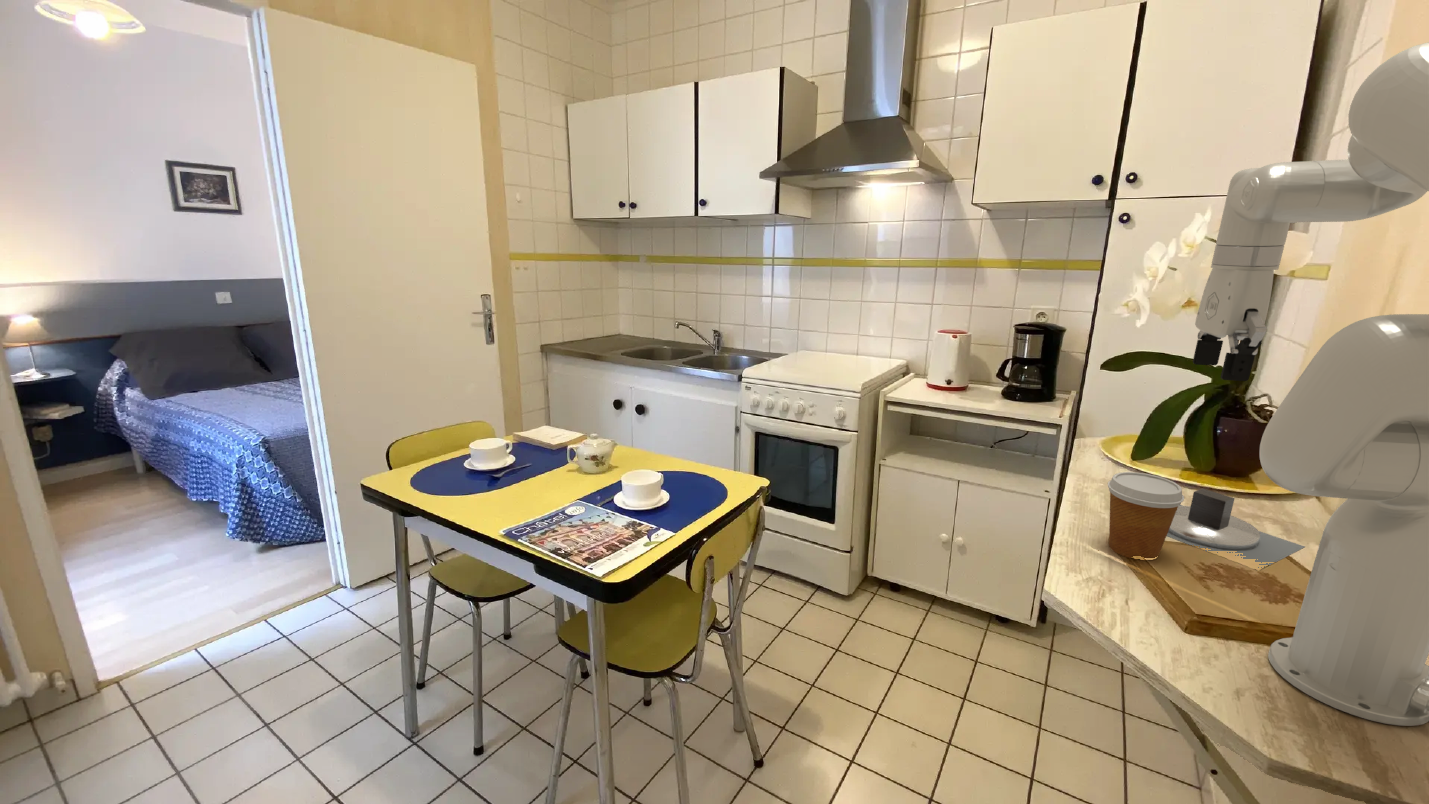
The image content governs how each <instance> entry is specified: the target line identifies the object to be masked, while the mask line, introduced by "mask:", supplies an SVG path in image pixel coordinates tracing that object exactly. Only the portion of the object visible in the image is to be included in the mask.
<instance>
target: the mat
mask: <svg viewBox="0 0 1429 804" xmlns="http://www.w3.org/2000/svg"><path fill="white" fill-rule="evenodd" d="M1179 506H1184V504H1183V505H1182V504H1180V505H1179ZM1258 531H1259V532H1260V538H1259V542H1258V545H1257V547H1255V548H1253V549H1250V550H1243V551H1237V552H1235V553H1243V555H1242V554H1240V556H1246V557H1243V559H1256V560H1255V562H1261V563H1262V562H1276V563H1277V562H1279V561H1282V560H1283V559H1285V558H1286V557H1289V556H1291V555H1293V554H1295V553H1297V552H1298V551H1300V550H1302V549H1304V548H1306V546H1305V545H1302V544H1300V543H1296V542H1293V541H1290V540H1287V539H1284V538H1282V537H1281V538H1280V537H1278V536H1275V535H1272V534H1269V533H1265V532H1263V531H1260V530H1258ZM1166 538H1170V539H1173V540H1176V541H1178V542H1180V543H1183V544H1185V545H1188V546H1191V545H1192V547H1194V546H1198V547H1199V546H1200V547H1199V548H1205V549H1206V548H1208V549H1211V550H1208V551H1234V550H1223V549H1216V548H1211V547H1207V546H1202V545H1199V544H1195V543H1192V542H1189V541H1186V540H1184V539H1181V538H1179V537H1176V536H1174V535H1172V534H1171V533H1169V532H1168V533H1167V536H1166ZM1193 545H1194V546H1193ZM1199 548H1198V549H1199ZM1204 552H1207V550H1205V551H1204ZM1217 553H1218V552H1217ZM1227 553H1228V552H1227ZM1229 553H1231V552H1229ZM1232 553H1233V552H1232ZM1235 556H1236V555H1235ZM1237 556H1239V554H1238V555H1237ZM1241 558H1242V557H1241ZM1257 559H1258V560H1257ZM1271 564H1272V565H1274V564H1273V563H1269V564H1268V563H1266V564H1259V565H1270V566H1272V565H1271ZM1264 567H1265V566H1264ZM1258 568H1259V567H1258ZM1261 568H1262V567H1261Z"/></svg>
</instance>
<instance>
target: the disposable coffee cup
mask: <svg viewBox="0 0 1429 804" xmlns="http://www.w3.org/2000/svg"><path fill="white" fill-rule="evenodd" d="M1107 487H1108V491H1109V531H1108V532H1109V533H1108V535H1109V536H1108V546H1109V549H1110V550H1112V551H1113V552H1114V553H1116V554H1118V555H1120V556H1123V557H1124V558H1129V559H1131V557H1133V556H1141V557H1144V558H1155V557H1157V556H1158V557H1159V556H1160V554H1161V551H1162V548H1163V545H1164V544H1165V541H1166V539H1167V533H1168V531H1169V528H1170V526H1171V523H1172V521H1173V518H1174V516H1175V513H1176V511H1177V508H1178V506H1179V505H1182V503H1183V502H1184V501H1185V495H1183V488H1182V486H1180V485H1179V484H1178V483H1176V482H1175V481H1173V480H1171V479H1170V480H1169V479H1167V478H1165V477H1162V476H1158V475H1154V474H1149V473H1144V472H1135V471H1134V472H1132V471H1124V472H1123V471H1122V472H1117V473H1114V475H1112V478H1111V479H1110V480H1109V481H1108V482H1107Z"/></svg>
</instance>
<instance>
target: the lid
mask: <svg viewBox="0 0 1429 804" xmlns="http://www.w3.org/2000/svg"><path fill="white" fill-rule="evenodd" d="M1191 499H1192V500H1191V504H1190V505H1183V506H1178V508H1177V511H1176V513H1175V516H1174V518H1173V521H1172V523H1171V526H1170V528H1169V531H1168V532H1169V533H1171V534H1172V535H1174V536H1176V537H1179V538H1181V539H1184V540H1186V541H1189V542H1192V543H1195V544H1199V545H1202V546H1207V547H1211V548H1216V549H1223V550H1234V551H1243V550H1250V549H1253V548H1255V547H1257V545H1258V542H1259V538H1260V532H1261V531H1260V530H1259V529H1258V528H1256V527H1255V526H1254V525H1253V524H1251V523H1249V522H1247V521H1246V520H1244V519H1241V518H1239V517H1237V516H1233V515H1232V511H1233V507H1234V502H1235V497H1231V496H1228V495H1225V494H1222V493H1219V492H1215V491H1213V490H1209V489H1205V488H1200V489H1197V490H1195V491H1193V495H1192V498H1191ZM1259 531H1260V532H1259Z"/></svg>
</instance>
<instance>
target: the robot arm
mask: <svg viewBox="0 0 1429 804" xmlns="http://www.w3.org/2000/svg"><path fill="white" fill-rule="evenodd" d="M1347 121H1348V126H1349V127H1348V128H1349V131H1350V134H1351V135H1350V138H1349V141H1348V145H1347V158H1348V159H1327V160H1326V159H1324V160H1309V161H1307V160H1306V161H1284V162H1275V163H1270V164H1267V165H1264V166H1261V167H1253V168H1252V167H1251V168H1247V169H1245V168H1244V169H1241V170H1240V171H1238V172H1236V173H1235V174H1234V175H1233V176H1232V177H1231V179H1230V181H1229V185H1228V188H1227V194H1226V199H1225V202H1224V208H1223V211H1222V216H1221V220H1220V224H1219V225H1220V226H1219V229H1218V234H1217V237H1216V242H1215V246H1214V251H1213V256H1212V260H1211V265H1210V268H1211V270H1210V273H1209V275H1208V278H1207V280H1206V284H1205V286H1204V290H1203V292H1202V293H1203V294H1202V296H1201V300H1200V304H1199V307H1198V310H1197V315H1196V318H1195V323H1194V324H1195V327H1196V328H1197V329H1198V330H1199V331H1198V333H1197V341H1196V345H1195V350H1194V354H1193V358H1192V363H1193V365H1197V366H1198V365H1199V366H1200V365H1201V366H1217V365H1219V364H1218V363H1219V360H1220V355H1221V351H1222V348H1223V343H1224V340H1221V339H1223V338H1226V337H1227V338H1228V344H1229V345H1228V346H1229V352H1226V353H1225V357H1224V362H1223V366H1222V369H1221V373H1220V379H1221V380H1224V381H1235V382H1237V381H1239V382H1247V381H1249V379H1250V376H1251V372H1252V368H1253V364H1254V360H1255V357H1256V355H1257V354H1258V351H1259V347H1260V346H1261V345H1262V343H1263V341H1262V340H1263V338H1264V336H1265V335H1266V333H1267V331H1268V328H1267V326H1266V324H1265V323H1266V321H1267V320H1266V319H1267V315H1268V312H1269V311H1268V310H1269V306H1270V303H1271V302H1270V301H1271V296H1272V290H1273V289H1272V288H1273V283H1274V273H1275V271H1276V270H1279V269H1280V264H1281V261H1282V257H1283V253H1284V248H1285V245H1286V241H1287V238H1288V233H1289V230H1290V226H1291V224H1293V223H1294V224H1295V223H1341V222H1342V223H1343V222H1344V223H1345V222H1347V223H1348V222H1355V221H1361V220H1366V219H1370V218H1374V217H1378V216H1380V215H1383V214H1386V213H1389V212H1391V211H1395V210H1398V209H1401V208H1403V207H1406V206H1409V205H1411V204H1413V203H1415V202H1417V201H1418V200H1419V199H1421V198H1422V197H1423V196H1425V194H1426V193H1428V192H1429V41H1428V42H1425V43H1421V44H1417V45H1413V46H1412V47H1409V48H1406V49H1404V50H1402V51H1399V53H1397V54H1395V55H1393V56H1391V57H1390V58H1388V59H1387V60H1385V61H1384V62H1383V63H1381V64H1380V65H1378V66H1377V67H1376V68H1374V70H1373V71H1372V72H1371V73H1370V74H1369V75H1368V76H1367V77H1366V78H1365V79H1364V81H1363V82H1362V83H1361V85H1359V87H1358V89H1357V91H1356V93H1355V94H1354V95H1353V98H1352V101H1351V103H1350V106H1349V110H1348V120H1347ZM1239 341H1240V342H1239ZM1259 460H1260V465H1261V467H1262V470H1263V472H1264V474H1265V475H1266V476H1267V477H1268V479H1270V481H1272V483H1274V484H1275V485H1277V486H1278V487H1280V488H1282V489H1284V490H1287V491H1289V492H1293V493H1295V494H1299V495H1306V496H1314V497H1322V498H1324V497H1325V498H1334V499H1335V498H1336V499H1346V500H1345V501H1344V502H1342V504H1340V506H1338V507H1337V509H1336V510H1335V511H1334V512H1333V513H1332V515H1330V517H1329V519H1328V521H1327V522H1326V524H1325V527H1324V528H1323V531H1322V534H1321V535H1322V536H1321V539H1320V541H1319V545H1318V548H1317V551H1316V555H1315V557H1314V561H1313V566H1312V569H1311V573H1310V575H1309V579H1308V582H1307V586H1306V589H1305V592H1304V596H1303V601H1302V604H1301V607H1300V610H1299V614H1298V617H1297V620H1296V624H1295V627H1294V628H1295V629H1294V631H1293V635H1292V636H1291V637H1283V638H1280V639H1277V640H1274V642H1272V643H1271V644H1270V647H1269V649H1268V650H1269V651H1268V653H1267V654H1268V660H1269V663H1270V664H1271V666H1272V667H1273V669H1274V670H1275V672H1277V673H1278V674H1279V675H1280V676H1281V677H1282V678H1283V679H1284V680H1285V681H1287V682H1288V683H1290V684H1291V685H1292V686H1293V687H1295V688H1296V689H1298V690H1300V691H1301V692H1303V693H1304V694H1306V695H1308V696H1310V697H1311V698H1313V699H1315V700H1317V701H1319V702H1321V703H1323V704H1326V705H1328V706H1330V707H1332V708H1334V709H1335V710H1336V709H1337V710H1338V711H1341V712H1343V713H1344V712H1345V713H1347V714H1349V715H1352V716H1355V717H1359V718H1362V719H1365V720H1368V721H1372V722H1376V723H1381V724H1384V725H1385V724H1386V725H1393V726H1403V727H1404V726H1407V727H1413V726H1419V725H1420V726H1421V725H1424V724H1426V723H1428V722H1429V665H1428V664H1426V662H1427V659H1428V656H1429V314H1427V313H1425V314H1424V313H1423V314H1422V313H1421V314H1418V313H1412V314H1411V313H1406V314H1402V313H1401V314H1400V313H1399V314H1397V313H1396V314H1394V313H1393V314H1383V315H1382V314H1381V315H1376V316H1370V317H1367V318H1363V319H1360V320H1358V321H1355V322H1353V323H1350V324H1348V325H1347V326H1345V327H1343V328H1342V329H1340V330H1339V331H1337V332H1335V333H1334V334H1333V335H1332V336H1330V337H1329V338H1328V339H1327V340H1326V341H1325V342H1324V343H1323V344H1322V346H1321V347H1320V349H1319V350H1317V352H1316V354H1315V355H1314V356H1313V357H1312V359H1311V360H1310V361H1309V363H1308V364H1307V366H1306V367H1305V369H1304V370H1303V372H1302V373H1301V375H1300V376H1299V377H1298V379H1297V380H1296V382H1295V383H1294V385H1293V386H1292V387H1291V389H1290V390H1289V391H1288V393H1287V394H1286V396H1285V397H1284V398H1283V400H1282V401H1281V403H1280V404H1279V405H1278V407H1277V409H1276V410H1275V412H1274V413H1273V415H1272V417H1271V418H1270V419H1269V421H1268V423H1267V425H1266V426H1265V429H1264V431H1263V433H1262V437H1261V439H1260V444H1259Z"/></svg>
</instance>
